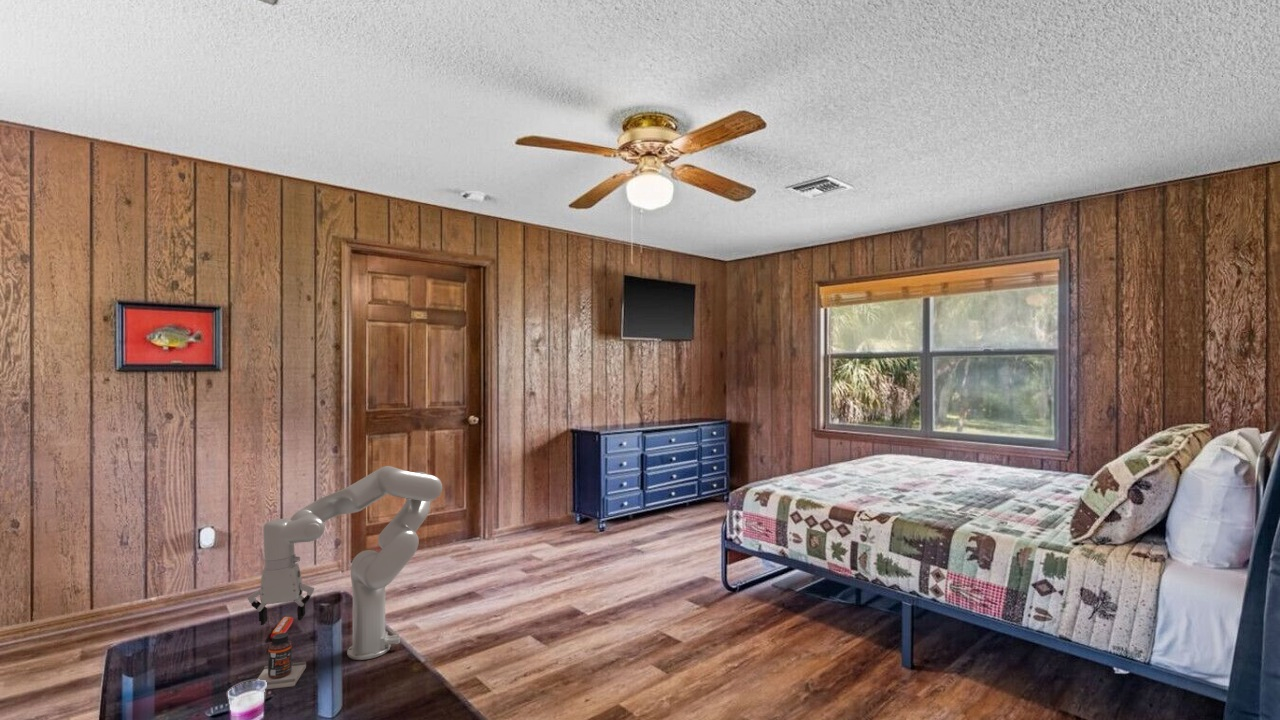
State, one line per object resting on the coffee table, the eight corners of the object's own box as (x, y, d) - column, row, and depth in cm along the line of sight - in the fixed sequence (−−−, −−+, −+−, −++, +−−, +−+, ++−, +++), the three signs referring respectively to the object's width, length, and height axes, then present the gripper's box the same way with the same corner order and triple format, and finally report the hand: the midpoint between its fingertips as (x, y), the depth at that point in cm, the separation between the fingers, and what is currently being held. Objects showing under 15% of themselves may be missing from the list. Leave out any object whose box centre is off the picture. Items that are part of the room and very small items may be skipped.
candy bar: (281, 641, 200) (281, 632, 200) (268, 643, 199) (268, 633, 199) (294, 621, 216) (294, 613, 216) (283, 623, 215) (283, 614, 215)
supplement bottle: (274, 681, 172) (274, 641, 172) (263, 676, 175) (263, 636, 175) (296, 672, 177) (295, 633, 177) (285, 667, 180) (285, 629, 180)
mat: (306, 667, 183) (306, 661, 183) (294, 685, 172) (294, 679, 172) (265, 671, 180) (265, 666, 180) (250, 691, 169) (251, 684, 169)
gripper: (316, 555, 182) (318, 611, 182) (251, 561, 178) (254, 619, 178) (308, 563, 175) (311, 622, 175) (241, 570, 171) (244, 630, 171)
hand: (282, 620), depth 177 cm, fingers open, 9 cm apart
